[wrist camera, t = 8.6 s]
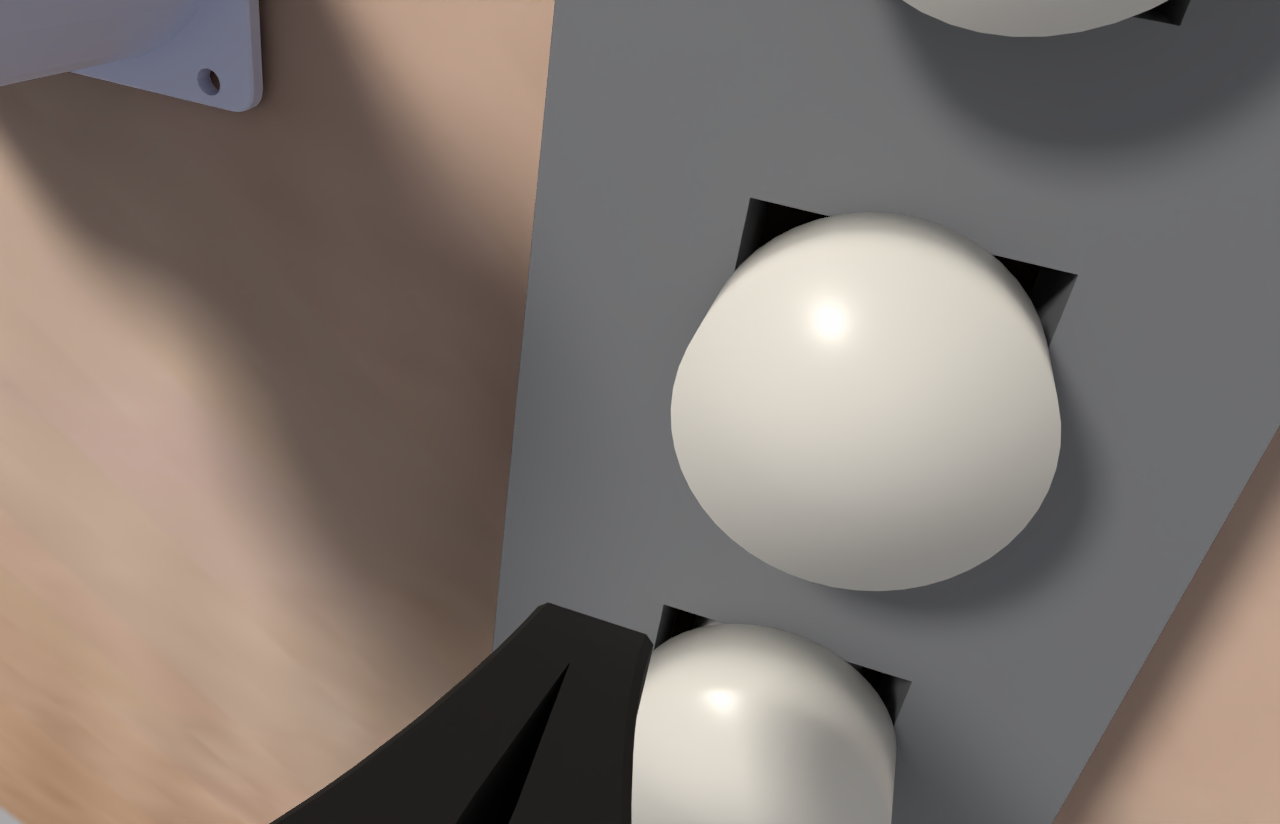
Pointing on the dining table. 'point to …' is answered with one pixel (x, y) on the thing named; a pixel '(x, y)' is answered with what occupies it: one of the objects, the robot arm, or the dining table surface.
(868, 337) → the knob
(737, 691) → the knob
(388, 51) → the dining table surface
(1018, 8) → the knob
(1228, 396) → the mount
